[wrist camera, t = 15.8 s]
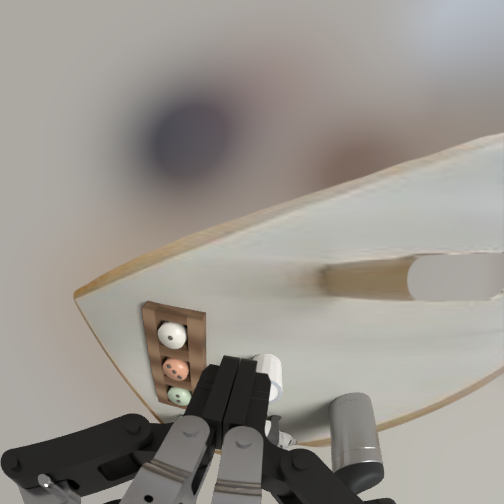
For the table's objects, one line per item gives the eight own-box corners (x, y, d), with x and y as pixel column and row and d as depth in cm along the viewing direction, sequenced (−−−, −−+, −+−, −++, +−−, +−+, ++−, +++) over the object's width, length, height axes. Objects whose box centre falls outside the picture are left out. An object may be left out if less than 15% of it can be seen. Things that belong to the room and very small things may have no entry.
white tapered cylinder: (239, 363, 48) (232, 390, 42) (264, 344, 46) (260, 372, 39) (266, 382, 49) (262, 409, 43) (292, 365, 47) (291, 392, 40)
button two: (193, 400, 53) (190, 408, 51) (172, 395, 54) (168, 402, 51) (191, 386, 51) (188, 394, 49) (169, 381, 52) (165, 388, 50)
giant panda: (242, 419, 54) (236, 446, 47) (246, 408, 53) (240, 437, 45) (294, 428, 54) (292, 456, 46) (300, 418, 52) (299, 447, 44)
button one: (188, 344, 47) (184, 352, 45) (163, 338, 48) (158, 346, 46) (187, 322, 46) (182, 329, 43) (161, 316, 46) (155, 323, 44)
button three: (191, 375, 50) (187, 383, 48) (168, 370, 51) (163, 377, 48) (189, 358, 48) (185, 366, 46) (165, 352, 49) (160, 359, 47)
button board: (207, 406, 54) (204, 414, 52) (162, 394, 56) (158, 401, 53) (205, 312, 45) (201, 320, 43) (148, 301, 47) (141, 307, 44)
